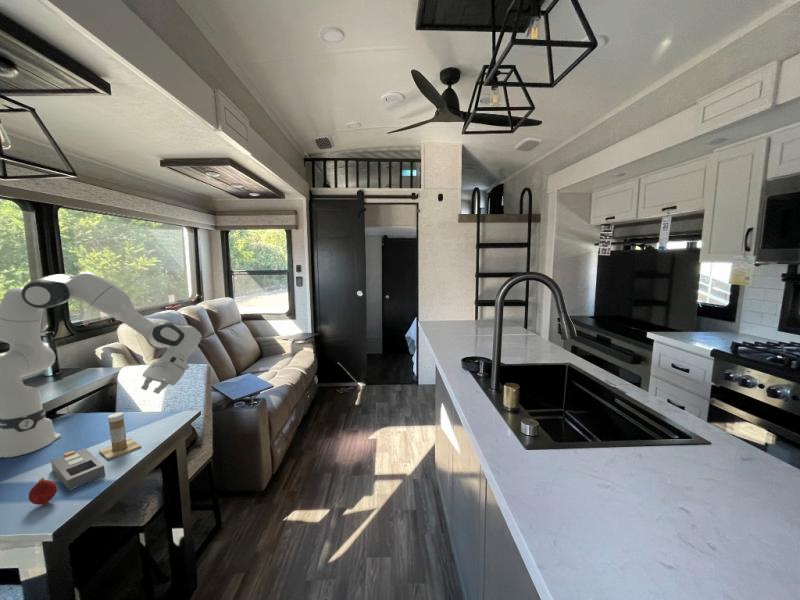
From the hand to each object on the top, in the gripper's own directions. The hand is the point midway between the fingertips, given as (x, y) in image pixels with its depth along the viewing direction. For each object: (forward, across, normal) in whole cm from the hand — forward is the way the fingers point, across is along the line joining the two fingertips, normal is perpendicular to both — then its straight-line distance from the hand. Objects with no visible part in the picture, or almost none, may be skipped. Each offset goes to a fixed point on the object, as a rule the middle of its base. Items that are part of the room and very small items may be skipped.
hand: (149, 391), depth 136 cm
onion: (+39, +14, -12) cm, 44 cm away
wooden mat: (+22, 0, +5) cm, 22 cm away
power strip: (+31, +1, -4) cm, 31 cm away
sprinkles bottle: (+22, 0, +5) cm, 22 cm away
